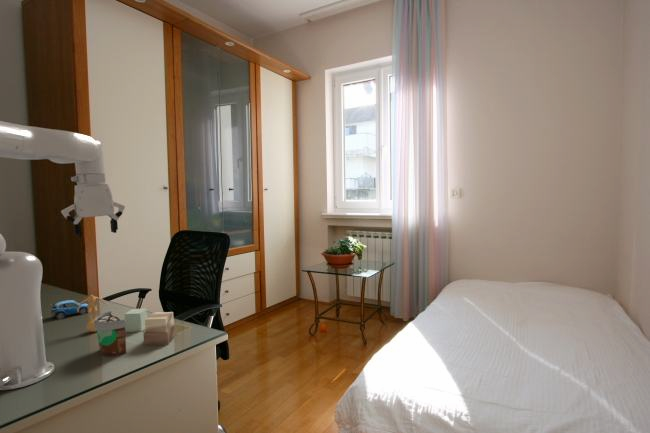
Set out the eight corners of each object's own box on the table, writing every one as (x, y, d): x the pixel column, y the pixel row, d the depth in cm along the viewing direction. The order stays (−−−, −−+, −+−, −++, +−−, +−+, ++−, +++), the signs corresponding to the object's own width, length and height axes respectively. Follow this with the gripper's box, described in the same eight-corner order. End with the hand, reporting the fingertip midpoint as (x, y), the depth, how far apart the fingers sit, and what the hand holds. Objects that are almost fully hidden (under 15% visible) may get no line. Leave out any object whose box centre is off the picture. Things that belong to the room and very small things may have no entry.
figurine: (79, 336, 120) (76, 299, 119) (79, 330, 125) (75, 295, 124) (109, 330, 125) (106, 294, 124) (107, 325, 129) (105, 290, 129)
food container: (89, 350, 109) (86, 316, 108) (112, 343, 114) (110, 310, 113) (103, 362, 101) (100, 326, 100) (128, 354, 105) (125, 319, 105)
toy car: (90, 313, 144) (89, 298, 143) (52, 321, 136) (51, 306, 135) (87, 309, 148) (86, 295, 148) (50, 317, 140) (48, 302, 140)
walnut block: (168, 345, 111) (167, 332, 111) (144, 346, 111) (143, 333, 111) (176, 336, 118) (175, 323, 118) (154, 337, 118) (153, 324, 118)
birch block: (166, 331, 111) (165, 318, 111) (145, 332, 111) (144, 319, 111) (173, 324, 117) (173, 311, 117) (154, 325, 117) (153, 312, 117)
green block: (141, 331, 123) (140, 313, 122) (126, 332, 123) (124, 314, 122) (148, 325, 128) (146, 308, 127) (133, 326, 128) (131, 309, 127)
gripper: (60, 181, 108) (67, 239, 110) (125, 178, 120) (130, 231, 122) (55, 181, 113) (61, 237, 115) (117, 179, 126) (122, 230, 127)
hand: (97, 234), depth 119 cm, fingers open, 9 cm apart
